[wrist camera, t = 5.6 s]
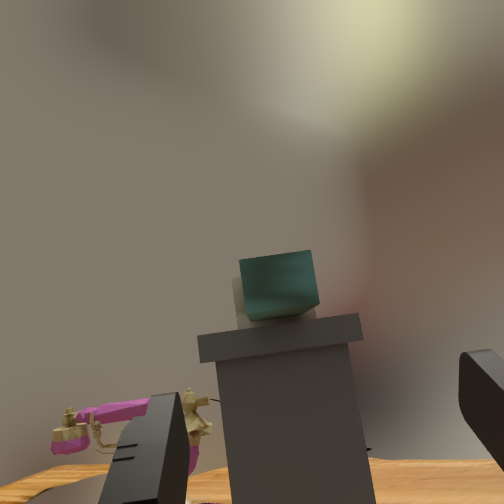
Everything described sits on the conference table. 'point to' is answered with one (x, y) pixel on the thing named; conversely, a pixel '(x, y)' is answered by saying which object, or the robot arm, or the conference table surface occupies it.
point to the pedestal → (291, 412)
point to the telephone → (77, 435)
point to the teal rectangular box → (275, 290)
